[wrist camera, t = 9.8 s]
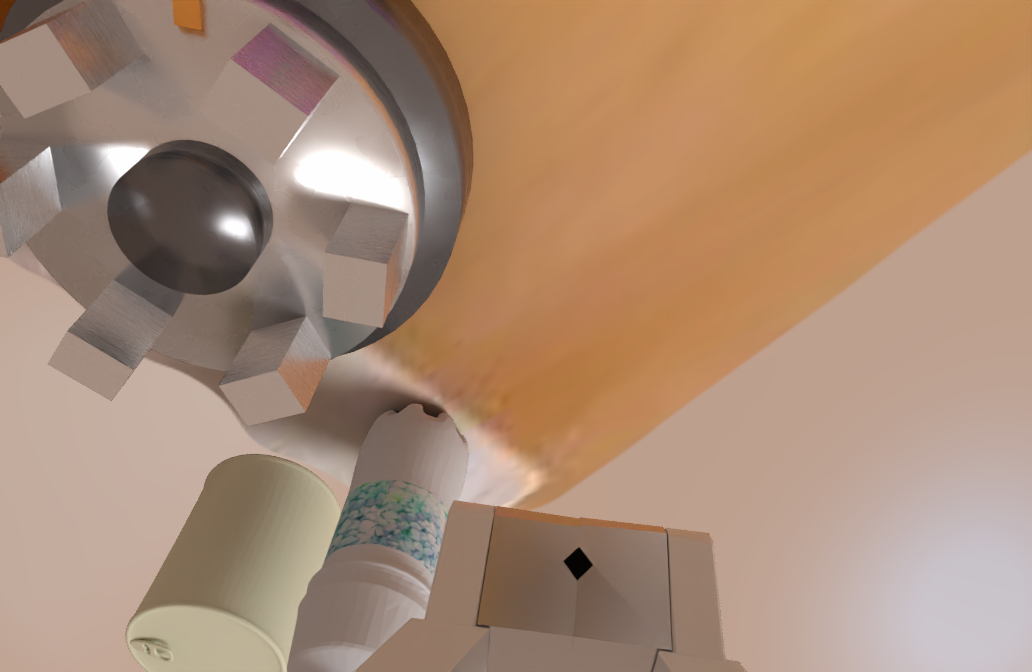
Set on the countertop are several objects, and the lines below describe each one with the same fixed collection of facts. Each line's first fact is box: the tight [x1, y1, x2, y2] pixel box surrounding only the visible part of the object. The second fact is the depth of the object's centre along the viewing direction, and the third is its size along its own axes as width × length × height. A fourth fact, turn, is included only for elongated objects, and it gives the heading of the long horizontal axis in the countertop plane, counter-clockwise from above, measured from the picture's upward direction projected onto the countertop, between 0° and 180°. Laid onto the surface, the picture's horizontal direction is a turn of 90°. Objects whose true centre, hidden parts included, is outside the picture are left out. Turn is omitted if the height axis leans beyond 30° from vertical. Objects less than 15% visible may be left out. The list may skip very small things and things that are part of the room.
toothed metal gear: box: [0, 0, 425, 426], centre depth 36 cm, size 18×18×6 cm
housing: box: [0, 0, 473, 355], centre depth 40 cm, size 21×21×4 cm
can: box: [125, 454, 341, 672], centre depth 52 cm, size 9×9×12 cm
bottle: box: [287, 404, 469, 672], centre depth 44 cm, size 7×7×20 cm
